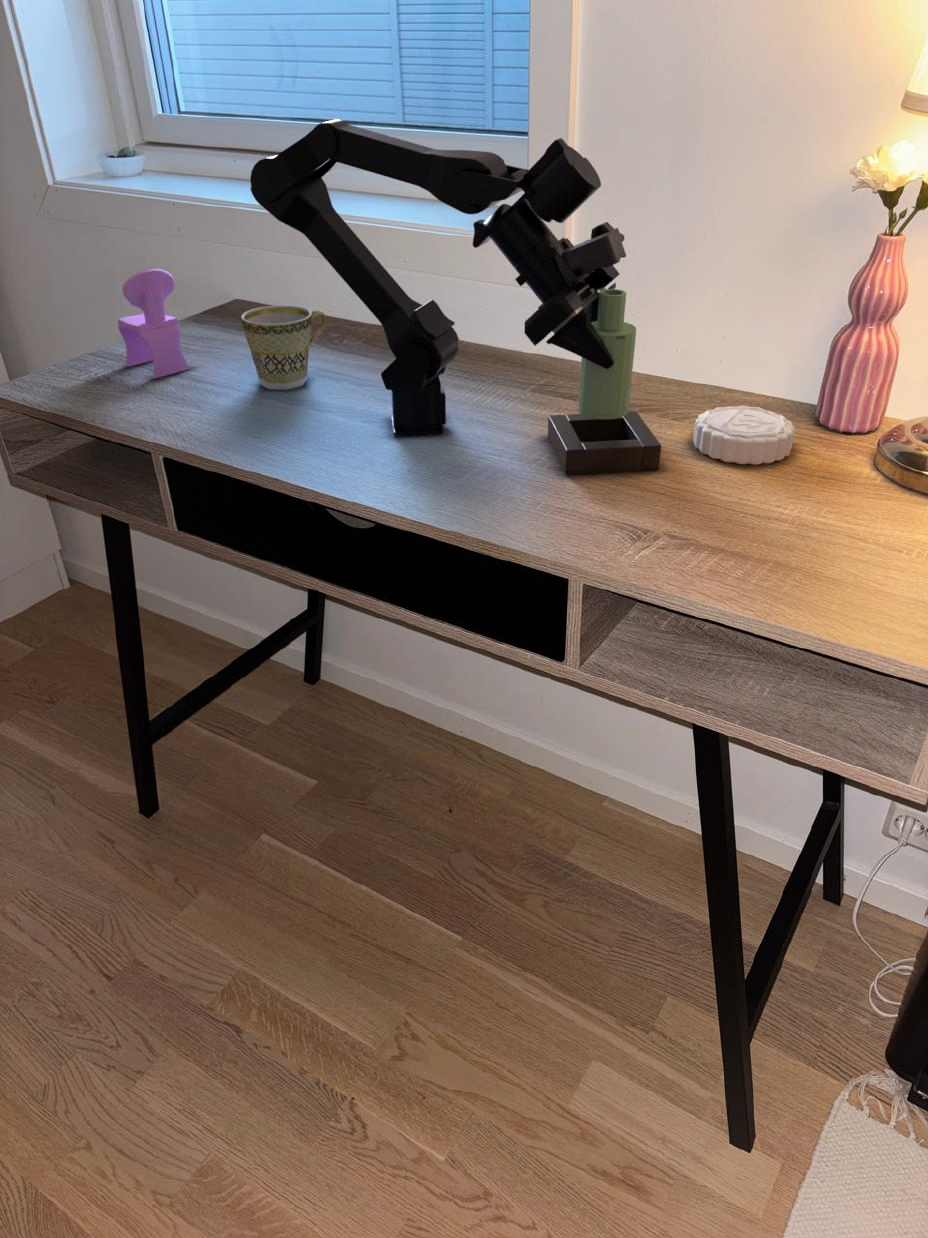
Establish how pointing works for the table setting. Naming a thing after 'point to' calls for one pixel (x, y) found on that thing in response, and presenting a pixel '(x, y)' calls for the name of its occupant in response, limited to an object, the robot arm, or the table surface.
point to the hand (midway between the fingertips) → (618, 358)
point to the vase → (611, 387)
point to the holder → (603, 444)
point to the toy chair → (152, 324)
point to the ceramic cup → (280, 343)
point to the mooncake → (743, 435)
